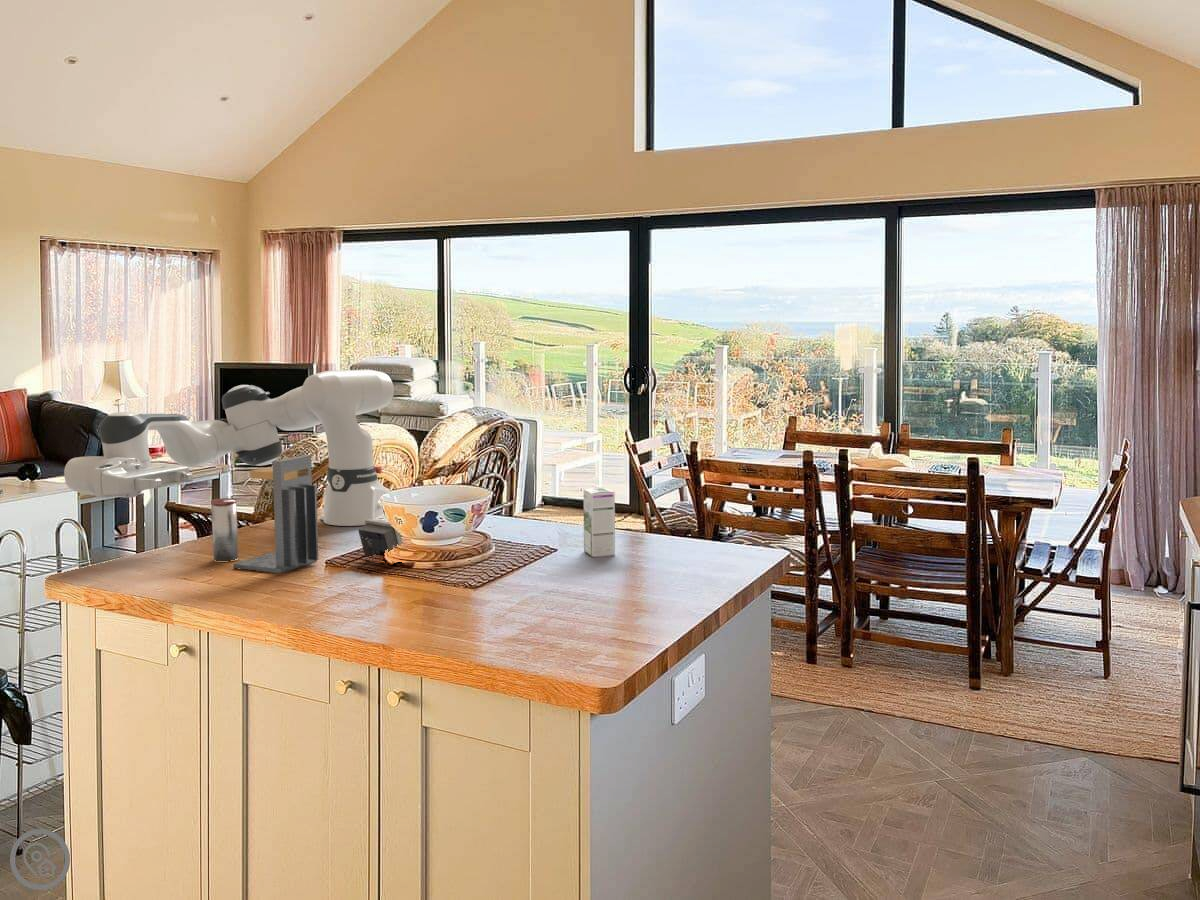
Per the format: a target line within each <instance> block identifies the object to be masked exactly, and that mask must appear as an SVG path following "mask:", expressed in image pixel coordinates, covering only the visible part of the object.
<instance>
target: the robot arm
mask: <svg viewBox="0 0 1200 900" xmlns="http://www.w3.org/2000/svg"><path fill="white" fill-rule="evenodd" d="M394 393H395V388H394V383H393V380H392V379H391V378H390V376H389V375H388V374H387V373H386V372H382V371H378V370H374V369H345V370H343V369H339V370H325V371H322V372H317V373H314V374H312V375H309V376H308V377H306V378H305V380H304V382H303V384H302V385H301V386H299V387H298V386H297V387H296V388H293V389H291V390H289V391H287V392H285V393H284V394H282V395H280V396H277V397H274V398H270V397H269V395H270V394H271V392H269V391H264V389H263V388H261V387H259V386H256V385H253V384H250V385H249V384H240V385H237V386H234V387H232V388H231V389H229V390H228V391H227V392H226V393H224V394H223V395H222V397H221V403H222V409H223V410H224V411H225V415H226V420H227V422H225V421H222V420H220V419H208V420H200V421H199V420H198V421H195V422H191V420H189V418H188V417H187V416H186V415H184V414H179V413H135V412H130V411H116V412H113V413H110V414H107V415H106V416H105V417H103V419H102V420H101V422H100V423H99V424H98V426H97V429H98V435H99V437H100V442H101V444H102V453H103V455H101V456H99V455H97V456H95V455H94V456H93V455H90V456H79V457H73V458H71V459H69V460H68V461H67V463H66V464H65V466H64V470H63V471H64V472H63V475H64V477H63V478H64V481H65V484H66V486H67V487H68V488H69V489H70V490H72V491H73V492H77V493H80V494H83V495H84V494H85V495H92V496H95V497H96V498H110V497H113V498H129V499H131V498H135V497H138V496H139V495H140V494H142V492H143V491H146V490H152V489H159V488H162V487H168V486H172V485H177V484H183V483H191V482H193V481H194V474H193V473H192V472H191V473H190V468H195V467H201V466H205V465H207V464H209V463H211V462H214V461H216V460H218V459H220V458H221V457H223V456H225V455H228V454H230V453H235V454H236V455H237V456H235V457H234V459H235V460H240V461H241V462H243V463H244V464H246V465H250V466H251V467H252V466H253V467H254V466H260V467H261V466H263V467H264V466H267V465H270V464H273V463H272V461H276V460H277V459H278V458H280V457H281V456H282V454H283V444H282V441H281V440H280V437H279V433H278V430H277V428H278V429H280V430H282V431H287V432H288V431H293V432H294V431H303V430H306V429H310V428H312V427H316V426H319V425H322V428H323V430H324V432H325V435H326V441H327V443H326V444H327V453H328V454H327V455H328V467H327V469H326V471H327V472H326V476H327V479H326V480H327V482H328V484H327V486H326V488H325V491H324V505H323V513H322V514H320V520H322V521H323V523H324V524H326V525H329V526H330V525H332V526H338V527H340V526H343V527H345V526H346V527H353V526H354V527H355V526H357V527H358V526H364V525H365V520H368V519H371V520H378V521H384V522H386V519H385V517H384V515H383V512H382V509H381V506H380V504H379V503H378V501H379V499H380V497H381V496H382V495H383V494H384V493H387V492H391V491H390V490H389V489H388V488H387V487H386V486H384V485H383V484H382V483H381V482H380V481H379V480H378V479H379V478H378V474H379V475H381V474H382V473H383V471H384V468H383V466H382V465H379V466H378V465H375V466H374V453H373V452H374V451H373V450H374V449H373V448H374V445H373V438H372V435H371V434H370V433H369V431H367V430H365V429H364V428H361V425H359V423H358V420H357V416H359V415H363V414H367V413H371V412H375V411H378V410H381V409H383V408H387V407H388V406H389V405H390V404H391V403H392V400H393V398H394ZM155 430H156V432H157V433H158V434H159V436H160V438H161V439H162V443H163V447H164V448H165V451H166V454H167V455H168V457H169V458H170V459H171V460H172V461H174V462H175V463H176V464H177V465H159V466H158V465H157V466H152V461H151V456H150V450H149V440H148V432H149V431H155Z"/></svg>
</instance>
